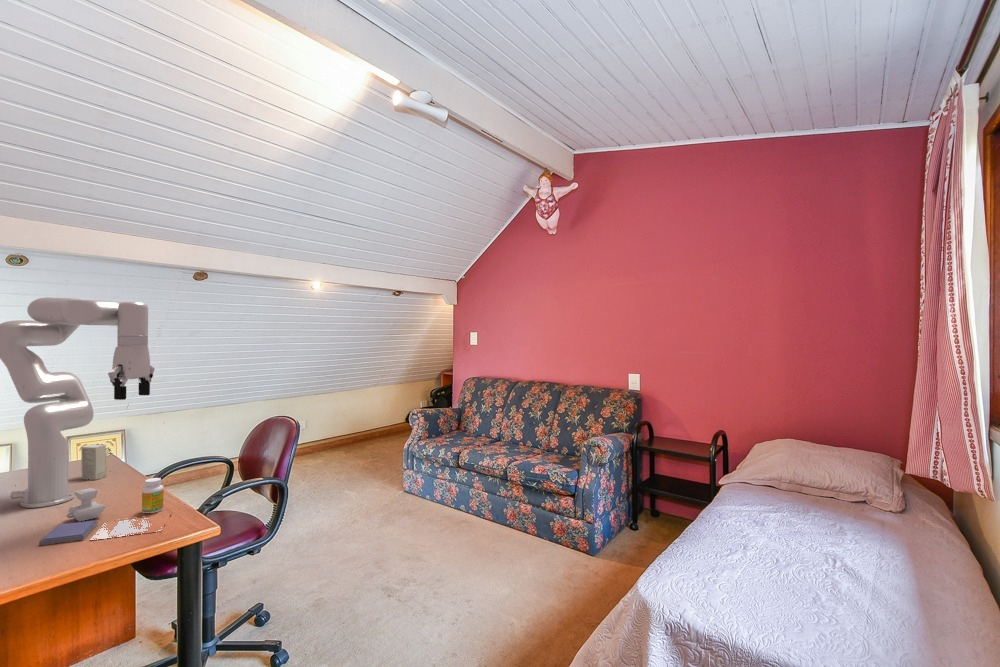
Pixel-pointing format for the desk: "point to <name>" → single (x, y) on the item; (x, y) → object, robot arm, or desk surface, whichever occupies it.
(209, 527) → the desk surface
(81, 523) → the ink pad
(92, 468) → the skincare box
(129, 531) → the paper
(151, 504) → the supplement bottle
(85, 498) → the stamp
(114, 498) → the desk surface
